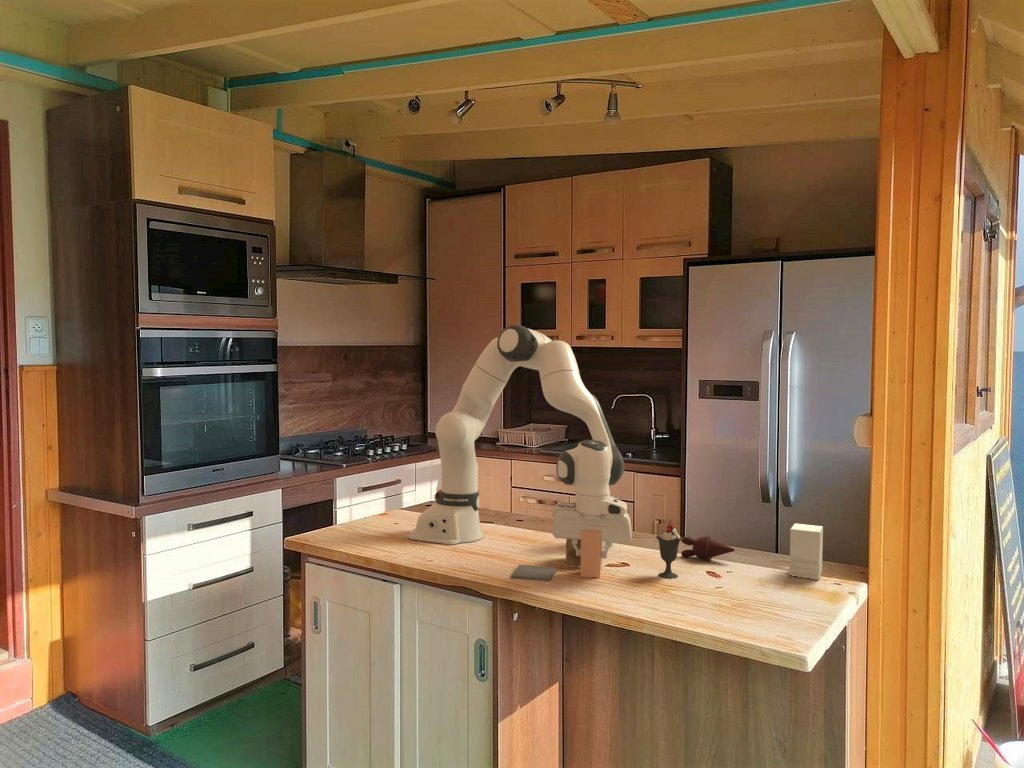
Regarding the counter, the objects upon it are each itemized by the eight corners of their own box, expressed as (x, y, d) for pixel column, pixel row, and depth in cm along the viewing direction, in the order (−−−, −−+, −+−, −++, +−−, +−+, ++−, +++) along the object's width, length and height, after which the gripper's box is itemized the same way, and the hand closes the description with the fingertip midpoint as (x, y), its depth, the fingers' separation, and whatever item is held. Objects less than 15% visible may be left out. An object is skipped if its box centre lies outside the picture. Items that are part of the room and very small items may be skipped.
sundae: (666, 581, 199) (667, 522, 198) (650, 573, 205) (651, 516, 204) (686, 577, 202) (688, 519, 201) (670, 570, 208) (671, 514, 207)
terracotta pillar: (580, 576, 202) (581, 530, 201) (582, 571, 207) (583, 526, 206) (599, 578, 201) (600, 531, 200) (601, 572, 206) (602, 527, 205)
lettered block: (565, 566, 211) (566, 536, 211) (570, 557, 219) (570, 529, 219) (595, 568, 209) (596, 538, 209) (598, 559, 217) (599, 531, 217)
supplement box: (822, 573, 207) (824, 526, 207) (818, 580, 201) (820, 531, 200) (793, 569, 211) (794, 522, 210) (788, 576, 204) (789, 528, 204)
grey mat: (510, 578, 200) (510, 575, 200) (518, 566, 210) (519, 564, 210) (549, 581, 198) (549, 578, 198) (556, 569, 208) (556, 567, 208)
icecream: (738, 537, 219) (685, 534, 226) (731, 536, 212) (677, 533, 220) (738, 563, 217) (685, 559, 225) (730, 562, 211) (676, 559, 219)
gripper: (550, 504, 202) (549, 557, 203) (631, 508, 198) (630, 563, 198) (554, 499, 208) (553, 550, 209) (632, 503, 204) (631, 556, 205)
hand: (591, 557), depth 204 cm, fingers closed on terracotta pillar, 5 cm apart
